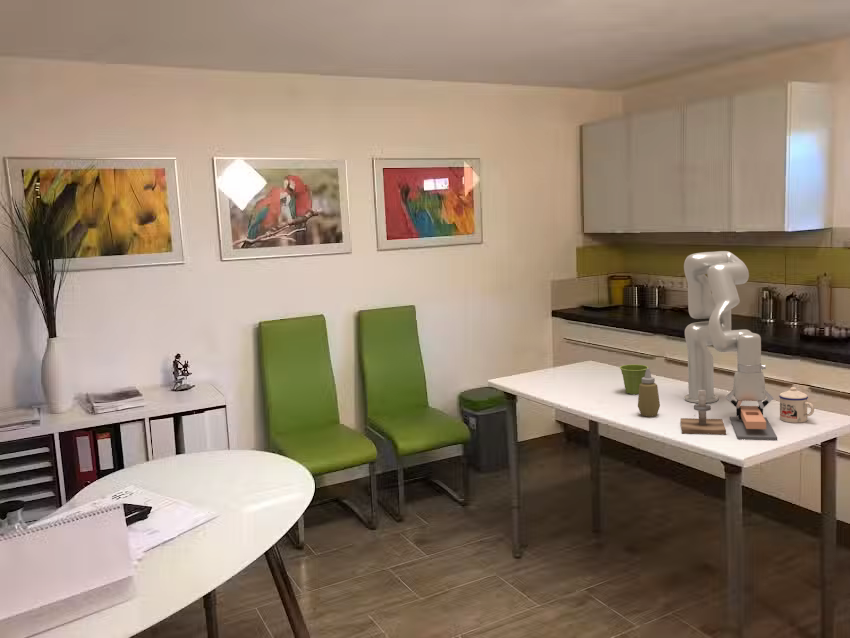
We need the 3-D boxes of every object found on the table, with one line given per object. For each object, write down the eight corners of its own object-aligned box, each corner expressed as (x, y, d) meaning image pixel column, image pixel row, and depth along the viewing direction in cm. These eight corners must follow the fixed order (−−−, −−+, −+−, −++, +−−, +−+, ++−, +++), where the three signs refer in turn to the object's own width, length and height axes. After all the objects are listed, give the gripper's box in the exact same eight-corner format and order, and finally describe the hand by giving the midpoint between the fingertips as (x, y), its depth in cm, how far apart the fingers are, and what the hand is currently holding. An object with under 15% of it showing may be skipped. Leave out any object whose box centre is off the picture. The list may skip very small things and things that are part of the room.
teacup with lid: (773, 419, 254) (773, 387, 252) (789, 414, 258) (789, 383, 256) (805, 426, 243) (805, 393, 242) (821, 421, 248) (821, 389, 246)
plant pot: (620, 396, 300) (620, 370, 299) (620, 389, 312) (619, 364, 310) (650, 396, 298) (649, 369, 296) (648, 389, 309) (647, 364, 307)
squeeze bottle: (661, 417, 265) (660, 370, 263) (639, 418, 267) (637, 371, 264) (658, 412, 273) (657, 366, 271) (637, 412, 275) (635, 366, 272)
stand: (680, 422, 258) (679, 386, 256) (722, 423, 254) (721, 386, 252) (682, 433, 245) (681, 395, 243) (726, 434, 240) (725, 395, 239)
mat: (729, 419, 257) (729, 416, 257) (766, 419, 254) (766, 417, 254) (737, 439, 235) (737, 436, 235) (777, 440, 231) (777, 437, 231)
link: (739, 412, 254) (739, 405, 254) (757, 412, 252) (757, 406, 252) (746, 428, 235) (746, 421, 235) (766, 429, 233) (766, 421, 233)
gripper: (774, 366, 249) (774, 416, 252) (721, 366, 254) (722, 415, 257) (778, 370, 242) (778, 422, 244) (723, 370, 247) (724, 421, 250)
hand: (749, 418), depth 251 cm, fingers closed on link, 5 cm apart
